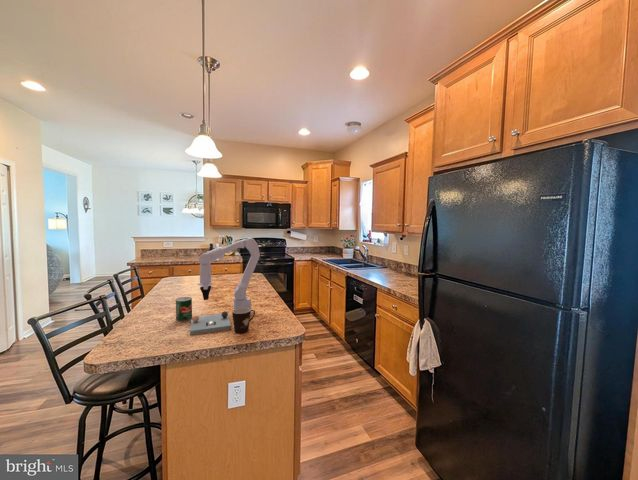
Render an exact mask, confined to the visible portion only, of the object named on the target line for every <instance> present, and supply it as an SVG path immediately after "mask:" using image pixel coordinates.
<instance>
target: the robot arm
mask: <svg viewBox="0 0 638 480" xmlns="http://www.w3.org/2000/svg"><path fill="white" fill-rule="evenodd" d="M245 248H246V249H247V251H248V252H249V254H250V258H249V260H248V262H247V265H246V266H245V267H246V268H245V270H244V271H243V275H242V276H241V279H240V281H239V283H238V285H237V286H236V287H235V288H234V298H233V310H235V309H238V308H249V309H251V310H252V300H251V298H250V297H247V289H248V288H249V287H248V286H249V284H250V281H251V278H252V276H253V273H254V272H255V268H256V267H257V264H258V262H259V260H260V256H261V254H260V249H259V245H258V242H257V241H256V239H254V238H252V237H247V238H245V239H244V238H243V239H240V240H238V241H235V242H233V243H230V244H229V245H226V246H225V247H221V246H216V247H214V249H212V250H209V251H208V250H207V251H206V252H204V253H202V254H200V255H199V258H198V261H199V282H197V286H200V287H199V289H200V291H201V293H202V298H203V301H208V300H209V296H210V292H211V290H212V284H213V283H212V266H211V262H214V261H216V260H218V259H221V258H223V257H225V255H226V254H227V253H229V252H231V251H235V250H237V249H245ZM250 316H252V311H251V312H250Z"/></svg>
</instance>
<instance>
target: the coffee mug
mask: <svg viewBox="0 0 638 480" xmlns="http://www.w3.org/2000/svg"><path fill="white" fill-rule="evenodd" d="M250 312H251V313H252V312H253V314H252V317H251V315H250ZM231 314H232V322H233V328H234V333H235V334H237V335H239V334H240V335H242V334H243V335H244V334H246V333H248V332H249V330H250V329H249V328H250V322H251V321H252V320H253V319H254V317H255V316H256V315H255V314H256V311H255V310H254V309H252V308H251V309H249V308H238V309H235V310H234V309H233V310H232V311H231Z"/></svg>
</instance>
